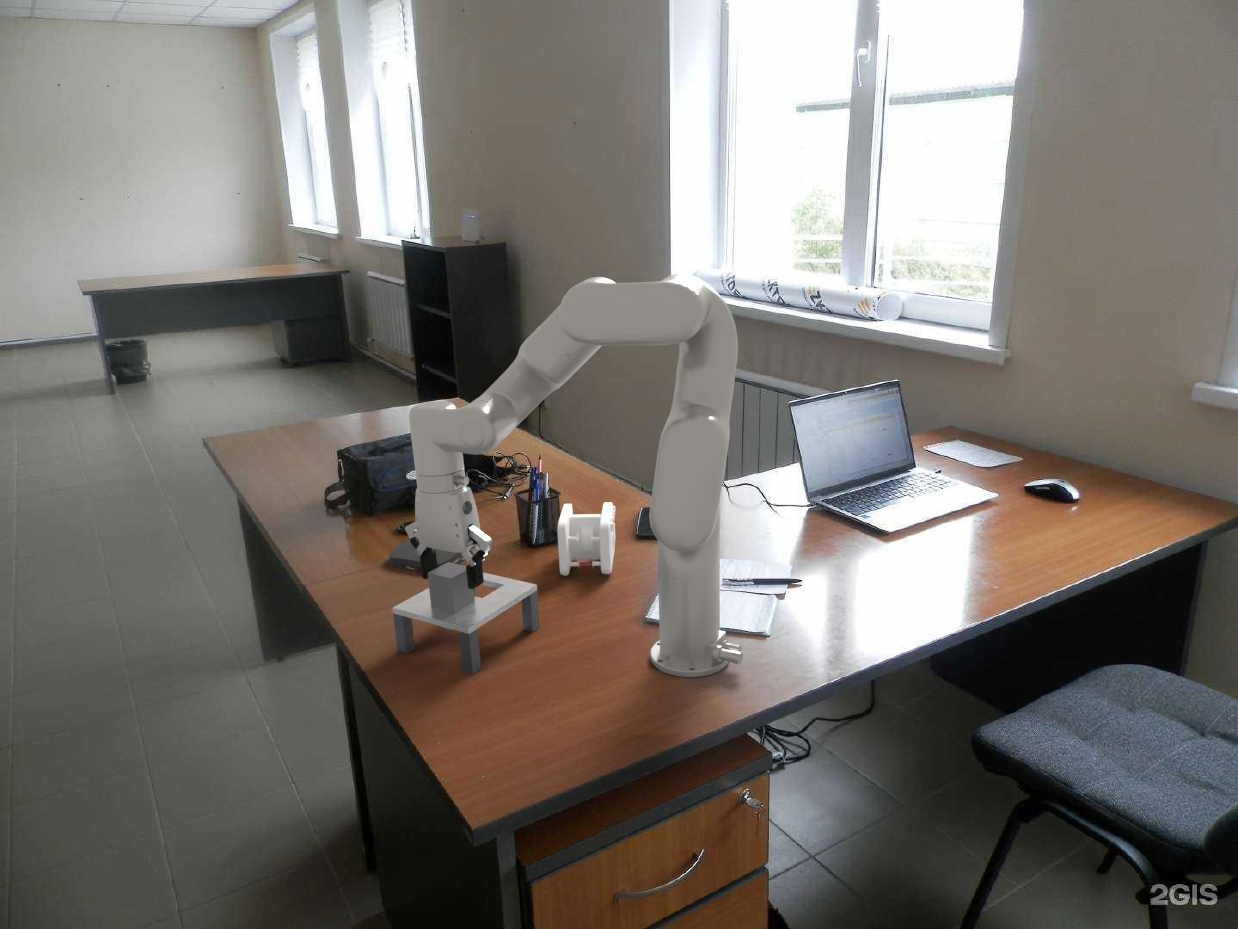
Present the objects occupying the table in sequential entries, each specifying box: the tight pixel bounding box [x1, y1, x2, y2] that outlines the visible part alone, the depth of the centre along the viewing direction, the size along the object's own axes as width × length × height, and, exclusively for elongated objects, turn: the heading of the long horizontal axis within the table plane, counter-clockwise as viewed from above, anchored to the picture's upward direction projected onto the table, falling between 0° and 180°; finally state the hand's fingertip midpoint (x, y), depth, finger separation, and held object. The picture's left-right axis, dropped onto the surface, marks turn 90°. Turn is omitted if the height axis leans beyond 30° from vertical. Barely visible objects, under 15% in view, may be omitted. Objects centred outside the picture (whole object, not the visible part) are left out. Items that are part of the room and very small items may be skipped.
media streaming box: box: [389, 539, 474, 573], centre depth 187 cm, size 15×15×3 cm
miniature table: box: [392, 572, 541, 675], centre depth 151 cm, size 16×18×8 cm
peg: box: [427, 562, 475, 630], centre depth 146 cm, size 5×5×10 cm
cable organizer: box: [557, 501, 617, 577], centre depth 179 cm, size 15×11×12 cm
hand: (452, 580), depth 145 cm, fingers open, 9 cm apart
